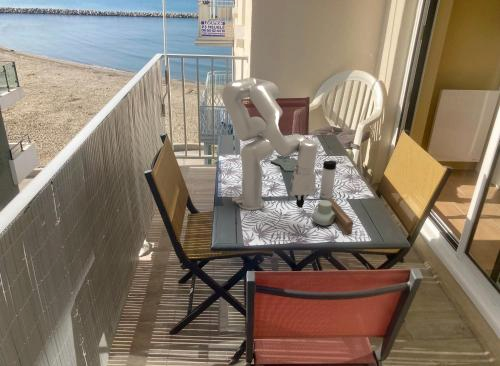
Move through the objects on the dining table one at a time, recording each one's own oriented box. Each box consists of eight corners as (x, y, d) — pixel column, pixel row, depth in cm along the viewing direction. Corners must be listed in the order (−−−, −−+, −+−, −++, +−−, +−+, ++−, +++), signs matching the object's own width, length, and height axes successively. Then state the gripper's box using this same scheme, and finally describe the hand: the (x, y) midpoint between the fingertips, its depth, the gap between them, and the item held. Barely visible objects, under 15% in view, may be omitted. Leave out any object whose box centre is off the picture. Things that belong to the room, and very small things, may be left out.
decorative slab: (313, 160, 256) (313, 157, 255) (314, 176, 235) (315, 173, 234) (271, 158, 259) (271, 155, 258) (268, 173, 237) (268, 170, 236)
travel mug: (323, 201, 207) (327, 164, 198) (317, 195, 212) (321, 159, 204) (334, 200, 208) (339, 163, 200) (328, 194, 214) (333, 158, 205)
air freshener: (320, 214, 195) (322, 195, 190) (336, 220, 190) (338, 201, 186) (309, 224, 186) (311, 204, 182) (325, 230, 182) (328, 210, 178)
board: (345, 234, 179) (346, 222, 177) (325, 210, 199) (326, 198, 196) (351, 233, 180) (353, 221, 178) (331, 209, 199) (332, 198, 197)
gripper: (291, 173, 169) (286, 212, 177) (325, 172, 172) (318, 209, 181) (285, 165, 175) (280, 203, 184) (318, 164, 179) (312, 201, 187)
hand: (299, 206), depth 182 cm, fingers closed
